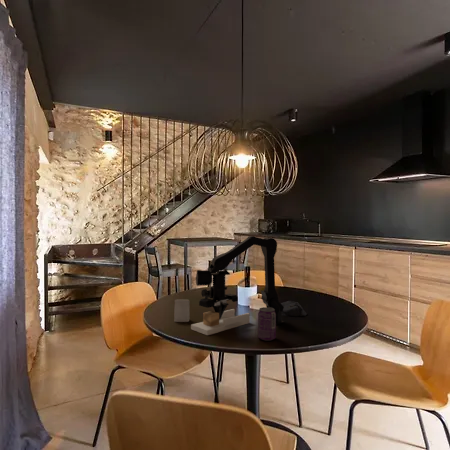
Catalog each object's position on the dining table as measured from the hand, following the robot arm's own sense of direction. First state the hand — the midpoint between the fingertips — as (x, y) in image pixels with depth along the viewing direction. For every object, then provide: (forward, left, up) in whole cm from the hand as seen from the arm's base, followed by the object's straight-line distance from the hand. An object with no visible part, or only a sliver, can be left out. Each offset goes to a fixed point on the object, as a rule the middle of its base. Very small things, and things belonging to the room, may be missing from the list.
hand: (218, 319), depth 154 cm
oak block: (0, +5, -1) cm, 5 cm away
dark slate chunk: (-5, -47, -4) cm, 47 cm away
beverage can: (-25, -3, -4) cm, 26 cm away
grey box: (+19, +7, -4) cm, 20 cm away
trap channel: (0, -1, -3) cm, 4 cm away
